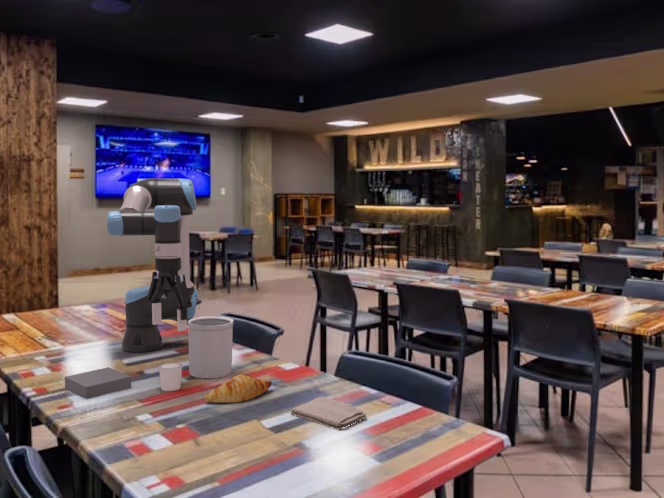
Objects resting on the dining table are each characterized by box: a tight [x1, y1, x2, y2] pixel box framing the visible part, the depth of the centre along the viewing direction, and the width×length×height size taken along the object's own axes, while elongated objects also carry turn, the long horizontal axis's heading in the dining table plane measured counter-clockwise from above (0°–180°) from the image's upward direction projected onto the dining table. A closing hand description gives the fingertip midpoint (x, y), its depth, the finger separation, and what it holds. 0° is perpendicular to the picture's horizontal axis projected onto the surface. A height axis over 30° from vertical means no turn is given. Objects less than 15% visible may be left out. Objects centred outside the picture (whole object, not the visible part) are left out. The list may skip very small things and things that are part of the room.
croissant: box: [204, 373, 273, 404], centre depth 175 cm, size 21×10×8 cm, turn 126°
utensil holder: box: [187, 315, 235, 379], centre depth 198 cm, size 15×15×18 cm
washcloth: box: [290, 396, 367, 430], centre depth 160 cm, size 12×18×3 cm, turn 51°
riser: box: [64, 366, 132, 400], centre depth 182 cm, size 14×14×4 cm
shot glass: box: [158, 362, 183, 392], centre depth 182 cm, size 7×7×7 cm
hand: (169, 327), depth 181 cm, fingers open, 13 cm apart
